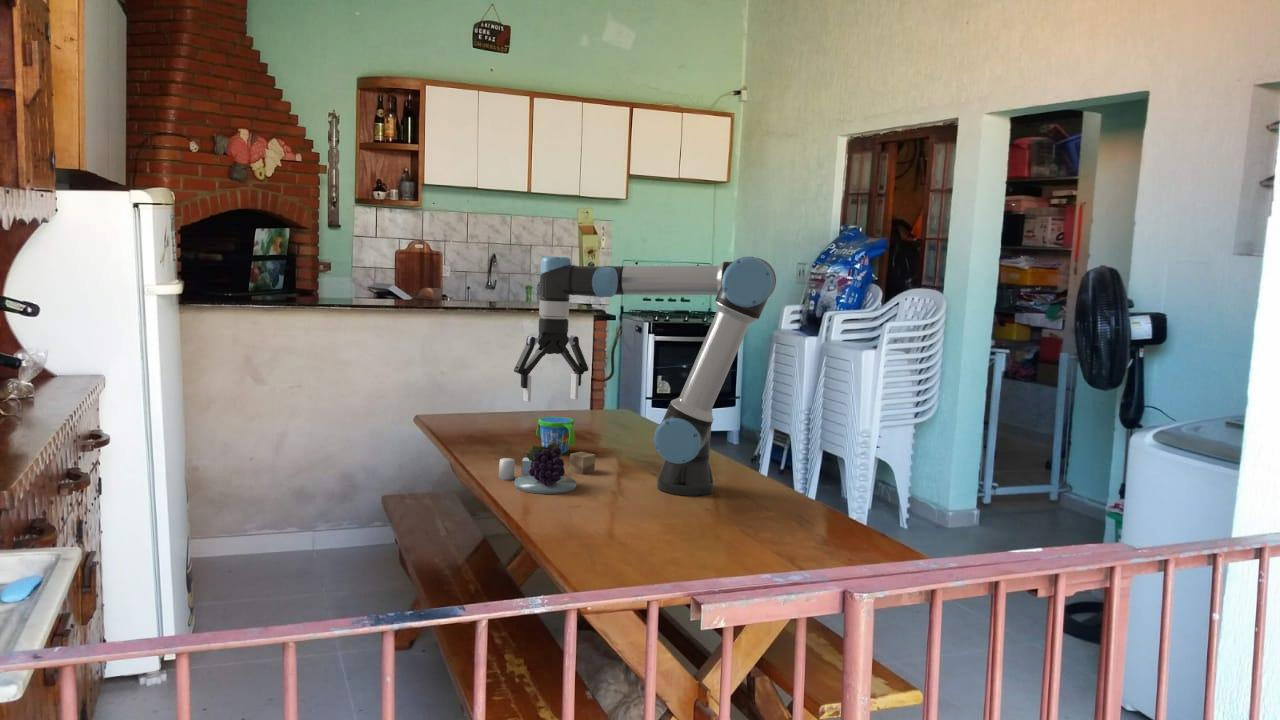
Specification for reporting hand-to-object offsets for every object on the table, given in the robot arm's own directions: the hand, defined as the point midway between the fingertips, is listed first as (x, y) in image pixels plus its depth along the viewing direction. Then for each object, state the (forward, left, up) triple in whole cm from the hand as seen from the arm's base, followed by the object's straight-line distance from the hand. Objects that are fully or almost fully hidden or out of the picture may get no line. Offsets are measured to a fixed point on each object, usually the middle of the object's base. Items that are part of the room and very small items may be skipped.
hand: (550, 399), depth 241 cm
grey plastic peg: (+11, +6, -23) cm, 26 cm away
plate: (0, 0, -23) cm, 23 cm away
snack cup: (+35, -21, -23) cm, 47 cm away
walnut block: (+11, -17, -23) cm, 30 cm away
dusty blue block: (+13, -4, -23) cm, 27 cm away
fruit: (0, 0, -22) cm, 22 cm away
